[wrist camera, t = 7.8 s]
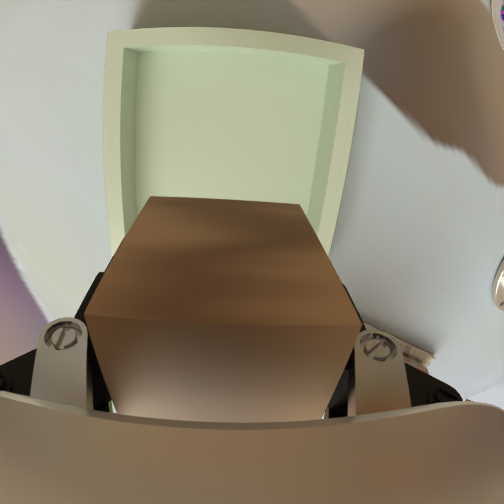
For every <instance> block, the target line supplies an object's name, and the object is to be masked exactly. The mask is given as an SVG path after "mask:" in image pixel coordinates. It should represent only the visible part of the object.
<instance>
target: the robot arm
mask: <svg viewBox="0 0 504 504" xmlns="http://www.w3.org/2000/svg"><path fill="white" fill-rule="evenodd" d="M124 238H125V237H124ZM124 238H123V240H124ZM123 240H122V241H123ZM121 243H122V242H121ZM121 243H120V245H121ZM120 245H119V247H120ZM119 247H118V248H119ZM117 250H118V249H117ZM117 250H116V252H117ZM116 252H115V254H116ZM115 254H114V255H115ZM113 257H114V256H113ZM113 257H112V259H113ZM112 259H111V261H112ZM111 261H110V263H111ZM110 263H109V264H110ZM109 264H108V266H109ZM108 266H107V268H108ZM107 268H106V270H107ZM106 270H105V272H106ZM105 272H99V273H98V275H97V276H96V278H95V280H94V281H93V283H92V285H91V287H90V289H89V291H88V292H87V294H86V296H85V298H84V300H83V302H82V304H81V306H80V307H79V309H78V311H77V313H76V315H75V317H74V318H68V317H65V318H59V319H56V320H54V321H52V322H50V323H49V324H47V325H46V326H45V327H44V328H43V330H42V331H41V334H40V336H39V341H38V346H37V349H34V350H32V351H30V352H28V353H26V354H24V355H22V356H19V357H17V358H15V359H13V360H11V361H9V362H7V363H5V364H3V365H0V504H504V410H503V409H501V408H499V407H497V406H494V405H491V404H487V403H479V402H473V401H470V400H468V399H466V400H465V401H463V400H462V398H461V396H460V394H459V393H458V392H457V391H456V390H455V389H454V388H453V387H451V386H450V385H448V384H446V383H444V382H442V381H440V380H438V379H436V378H434V377H432V376H430V375H428V374H426V373H424V372H423V371H421V370H419V369H417V368H415V367H413V366H411V365H409V364H407V363H405V362H404V358H403V353H402V349H401V346H400V344H399V343H398V342H397V340H396V339H395V338H393V337H392V336H391V335H389V334H387V333H385V332H383V331H379V330H370V329H369V330H367V329H366V327H365V325H364V323H363V321H362V319H361V317H360V315H359V313H358V311H357V309H356V307H355V305H354V303H353V301H352V299H351V297H350V295H349V293H348V291H347V289H346V287H345V285H344V284H342V285H343V287H344V288H345V290H346V292H347V294H348V296H349V298H350V300H351V302H352V304H353V307H354V309H355V311H356V313H357V315H358V317H359V319H360V321H361V323H362V327H361V330H360V332H359V335H358V337H357V340H356V342H355V345H354V347H353V349H352V352H351V354H350V357H349V359H348V361H347V364H346V366H345V368H344V371H343V373H342V375H341V377H340V380H339V382H338V384H337V386H336V388H335V391H334V393H333V395H332V397H331V399H330V401H329V403H328V405H327V407H326V410H325V414H324V419H318V420H305V421H288V422H257V423H230V422H199V421H182V420H169V419H158V418H148V417H139V416H131V415H123V414H116V413H113V410H112V402H111V400H112V399H111V396H110V393H109V391H108V388H107V385H106V383H105V380H104V377H103V374H102V372H101V369H100V366H99V363H98V360H97V357H96V354H95V350H94V347H93V344H92V341H91V338H90V334H89V331H88V327H87V324H86V320H85V317H84V312H85V310H86V308H87V306H88V304H89V302H90V300H91V298H92V296H93V294H94V292H95V290H96V289H97V287H98V285H99V283H100V281H101V279H102V277H103V275H104V274H105ZM492 297H493V301H494V303H495V305H496V306H497V307H498V308H499V309H500V310H502V311H504V259H503V261H502V263H501V264H500V267H499V269H498V271H497V274H496V276H495V279H494V284H493V290H492Z"/></svg>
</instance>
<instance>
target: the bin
mask: <svg viewBox="0 0 504 504" xmlns="http://www.w3.org/2000/svg"><path fill="white" fill-rule="evenodd" d="M363 58H364V50H363V49H360V48H356V47H351V46H347V45H343V44H338V43H334V42H329V41H324V40H319V39H314V38H308V37H303V36H297V35H290V34H283V33H276V32H267V31H258V30H247V29H234V28H216V27H160V28H142V29H129V30H119V31H110V32H108V34H107V44H106V57H105V72H104V95H103V151H104V175H105V192H106V205H107V216H108V226H109V236H110V244H111V252H112V257H113V256H114V254H115V252H116V250H117V249H118V247H119V245H120V243H121V242H122V240H123V238H124V237H125V236H126V235H127V233H128V231H129V230H130V228H131V226H132V225H133V223H134V221H135V220H136V218H137V216H138V215H139V213H140V211H141V210H142V208H143V207H144V205H145V203H146V202H147V200H148V199H149V197H150V196H165V197H191V198H212V199H231V200H248V201H263V202H277V203H290V204H300V206H301V208H302V209H303V211H304V213H305V215H306V217H307V218H308V220H309V222H310V224H311V226H312V228H313V229H314V231H315V233H316V235H317V237H318V239H319V240H320V242H321V244H322V246H323V248H324V250H325V252H326V254H327V256H328V257H329V252H330V248H331V244H332V239H333V235H334V230H335V226H336V221H337V216H338V212H339V207H340V202H341V197H342V192H343V187H344V182H345V176H346V171H347V166H348V160H349V155H350V149H351V143H352V137H353V131H354V125H355V118H356V112H357V105H358V98H359V91H360V83H361V76H362V68H363Z"/></svg>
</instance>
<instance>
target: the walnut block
mask: <svg viewBox="0 0 504 504" xmlns="http://www.w3.org/2000/svg"><path fill="white" fill-rule="evenodd" d="M84 317H85V320H86V324H87V327H88V331H89V334H90V338H91V341H92V344H93V347H94V350H95V354H96V357H97V360H98V363H99V366H100V369H101V372H102V374H103V377H104V380H105V383H106V385H107V388H108V391H109V393H110V396H111V399H112V401H113V404H114V406H115V409H116V411H117V414H123V415H131V416H139V417H148V418H158V419H169V420H182V421H199V422H230V423H257V422H288V421H305V420H318V419H321V418H322V416H323V414H324V412H325V410H326V407H327V405H328V403H329V401H330V399H331V397H332V395H333V393H334V391H335V388H336V386H337V384H338V382H339V380H340V377H341V375H342V373H343V371H344V368H345V366H346V364H347V361H348V359H349V357H350V354H351V352H352V349H353V347H354V345H355V342H356V340H357V337H358V335H359V332H360V330H361V327H362V323H361V321H360V319H359V317H358V315H357V313H356V311H355V309H354V307H353V304H352V302H351V300H350V298H349V296H348V294H347V292H346V290H345V288H344V287H343V285H342V283H341V281H340V279H339V277H338V275H337V273H336V271H335V269H334V267H333V265H332V263H331V261H330V259H329V257H328V256H327V254H326V252H325V250H324V248H323V246H322V244H321V242H320V240H319V239H318V237H317V235H316V233H315V231H314V229H313V228H312V226H311V224H310V222H309V220H308V218H307V217H306V215H305V213H304V211H303V209H302V208H301V206H300V204H290V203H277V202H263V201H248V200H231V199H212V198H191V197H165V196H150V197H149V199H148V200H147V202H146V203H145V205H144V207H143V208H142V210H141V211H140V213H139V215H138V216H137V218H136V220H135V221H134V223H133V225H132V226H131V228H130V230H129V231H128V233H127V235H126V236H125V238H124V240H123V241H122V243H121V245H120V247H119V248H118V250H117V252H116V254H115V255H114V257H113V259H112V261H111V263H110V264H109V266H108V268H107V270H106V272H105V274H104V275H103V277H102V279H101V281H100V283H99V285H98V287H97V289H96V290H95V292H94V294H93V296H92V298H91V300H90V302H89V304H88V306H87V308H86V310H85V312H84Z"/></svg>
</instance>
